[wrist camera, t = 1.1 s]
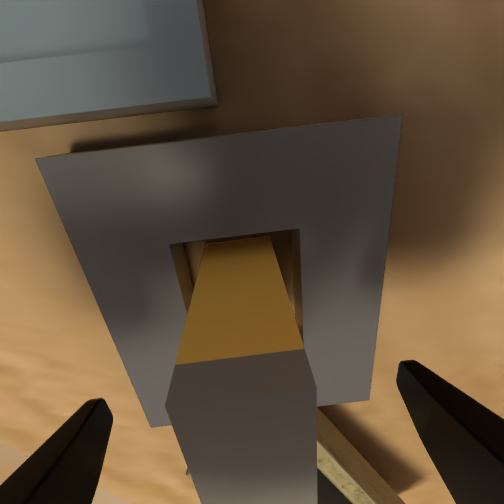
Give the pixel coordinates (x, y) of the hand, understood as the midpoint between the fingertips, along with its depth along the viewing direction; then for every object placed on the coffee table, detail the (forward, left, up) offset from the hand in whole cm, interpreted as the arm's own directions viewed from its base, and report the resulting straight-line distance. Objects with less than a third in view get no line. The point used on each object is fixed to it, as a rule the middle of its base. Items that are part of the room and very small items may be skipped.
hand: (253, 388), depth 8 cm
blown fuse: (0, 0, -6) cm, 6 cm away
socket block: (0, 0, -6) cm, 6 cm away
